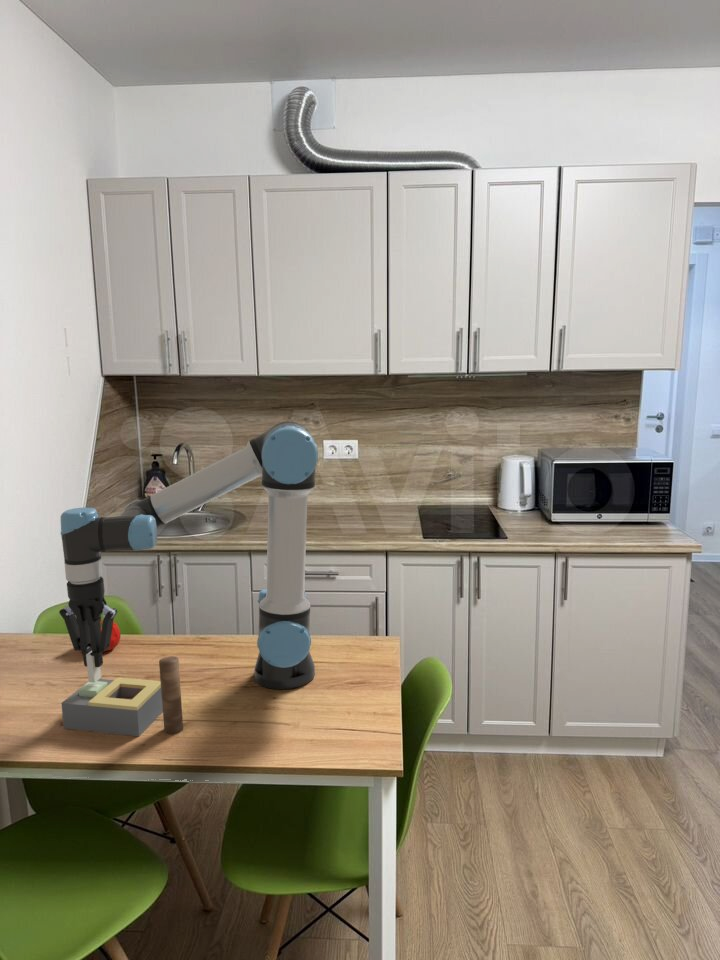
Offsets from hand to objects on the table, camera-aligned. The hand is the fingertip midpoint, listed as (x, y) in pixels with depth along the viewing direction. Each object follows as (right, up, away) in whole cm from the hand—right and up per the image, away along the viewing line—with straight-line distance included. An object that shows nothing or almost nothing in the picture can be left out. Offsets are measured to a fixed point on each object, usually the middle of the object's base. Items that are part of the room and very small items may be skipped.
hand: (95, 679), depth 159 cm
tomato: (-12, -2, +38) cm, 40 cm away
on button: (0, -5, 0) cm, 5 cm away
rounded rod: (+19, -10, -5) cm, 22 cm away
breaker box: (+5, -9, 0) cm, 10 cm away
